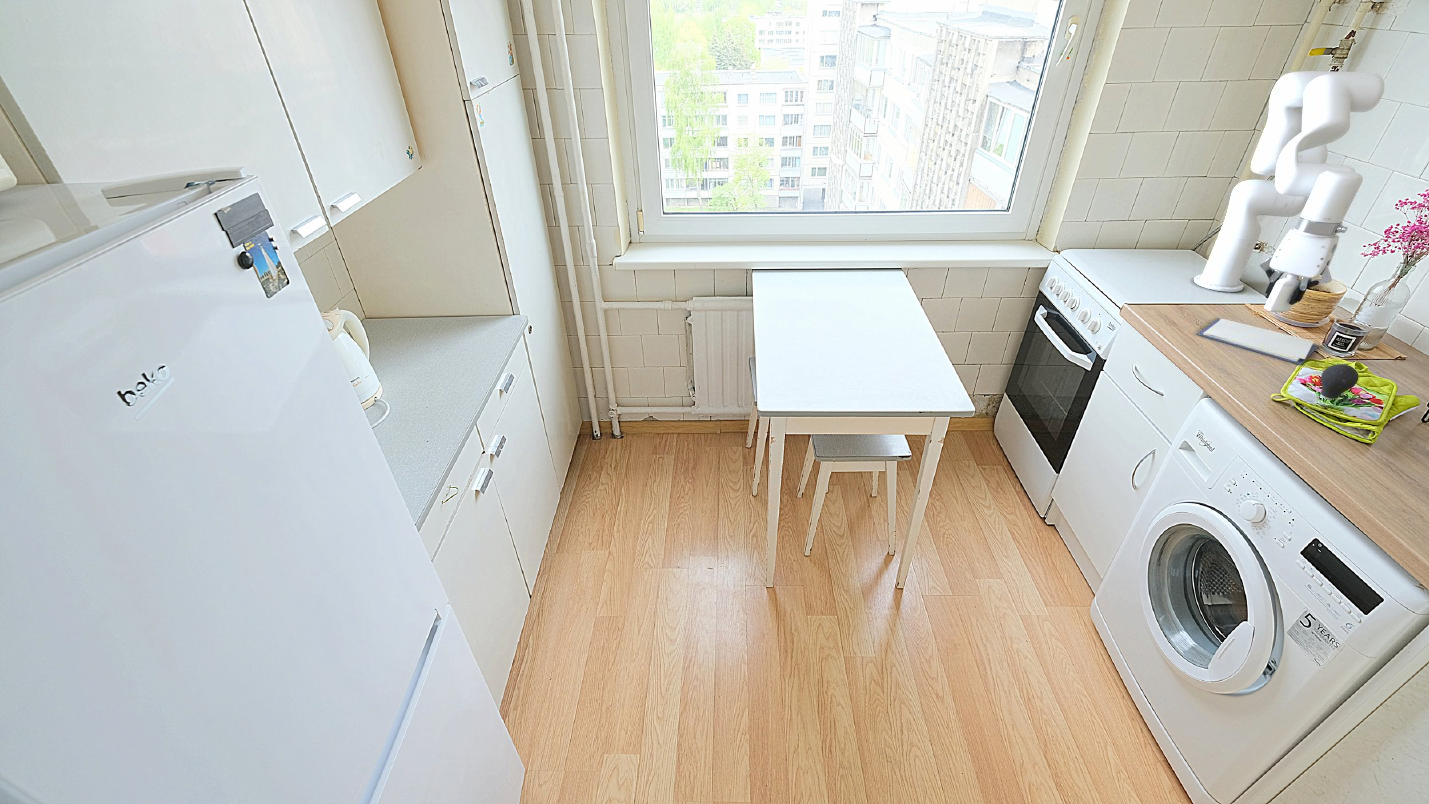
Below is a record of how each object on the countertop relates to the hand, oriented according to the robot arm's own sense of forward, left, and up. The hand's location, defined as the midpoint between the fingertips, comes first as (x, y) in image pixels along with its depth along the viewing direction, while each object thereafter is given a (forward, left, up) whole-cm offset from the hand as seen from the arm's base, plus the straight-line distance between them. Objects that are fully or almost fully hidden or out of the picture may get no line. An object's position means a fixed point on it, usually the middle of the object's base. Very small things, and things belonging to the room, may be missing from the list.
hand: (1281, 299), depth 158 cm
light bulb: (+24, +21, -12) cm, 34 cm away
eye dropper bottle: (0, 0, -3) cm, 3 cm away
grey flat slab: (-1, -1, -12) cm, 12 cm away
